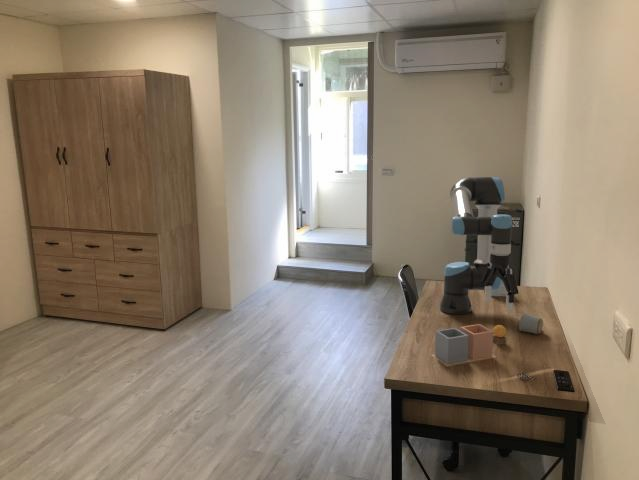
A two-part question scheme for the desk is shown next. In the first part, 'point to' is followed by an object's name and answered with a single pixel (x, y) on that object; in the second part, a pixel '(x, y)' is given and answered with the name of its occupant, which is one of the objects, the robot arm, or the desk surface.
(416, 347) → the desk surface
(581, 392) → the desk surface
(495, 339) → the stand
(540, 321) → the ceramic mug
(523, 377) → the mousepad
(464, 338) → the double square tube
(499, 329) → the ball
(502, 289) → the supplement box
